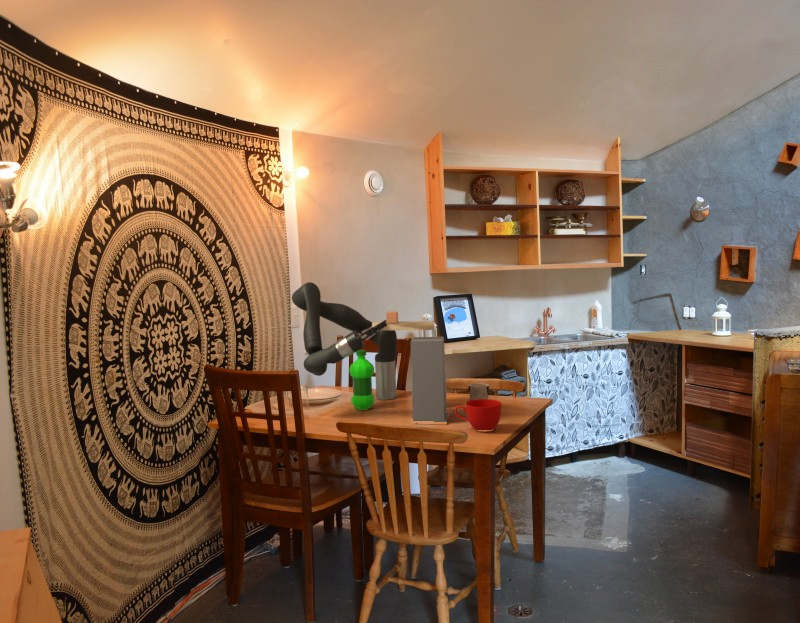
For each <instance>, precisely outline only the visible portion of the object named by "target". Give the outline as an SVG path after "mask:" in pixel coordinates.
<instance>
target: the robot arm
mask: <svg viewBox="0 0 800 623" xmlns="http://www.w3.org/2000/svg"><path fill="white" fill-rule="evenodd" d="M321 298H322V296H321V291H320V288H319V287H318V285H317V284H315V283H314V282H310V281H309V282H306V283H303V284H302V285H301V286H300V287H298V288H297V289H296V290H295V291H294V292H293V294H292V295H291V300H292V302H293V304H294V305H295V306H296V307H297V308H298V309H300V310H302V311H304V312H306V316H305V321H304V325H303V333H302V335H303V343H304V344H303V345H304V350H305V351H306V353H307V354H308V356H306V358H304V362H303V369H305V371H306V372H308V373H310V374H313V375H314V376H318V377H320V376H323V375H324V374H326V372H327V369H328V365H329V364H332V365H334V364H337V363H339V362H340V361H342V360H344V359H345V358H347V357H350V356H351V355H354V354H356V352H357V351H358V350H363V348H364V347H365V346H366V345H365V342H364V341H368V340H369V341H371V342H372V343H374V344H376V345H378V352H377V353H376V354H375V355H374V374H375V398H376V399H377V400H379V401H380V400H382V401H384V400H385V401H387V400H394V399H396V398H397V378H396V376H397V375H396V374H397V373H396V356H397V353H398V352H397V349H398V346H397V345H398V339H397V337H398V336H397V332H396V331H397V330H381V329H382V328H384V327H386V326H387V324H386V322H387V320H386V319H384V320H382V321H380V322H381V323H380V324H378V325H376V326H377V327H376V326H374V327H372V323H373V322H374V321H371V320H369V319H367V318H365V316H363V315H362V314H361V313H360V312H359V311H357V310H356V309H353V308H352V307H350V306H349V305H347V304H343V303H336V302H325V301H322V300H321ZM321 318H323V319H325V320H327V321H329V322H332V323H334V324H335V325H338V326H340V327H341V328H344V329H345V330H348V331H349V332H350V331H351V332H350V333H347V335H345V336H344V337H342V338H340V339H339V340H338V341H336V342H335V343H333V344H331V345H330V346H328V347H327V348H324V349H323V342H322V341H323V340H322V333H321V323H320V322H321ZM379 330H381V331H379Z"/></svg>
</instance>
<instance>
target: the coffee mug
mask: <svg viewBox="0 0 800 623" xmlns="http://www.w3.org/2000/svg"><path fill="white" fill-rule="evenodd" d="M474 384H482V385H485V386H486V388H487V395H488V396H489V393H490V392H489V391H490V384H488V383H483V382H473V383H469V384H468V385H467V386H468V388H467V391H468V393H469V395H470V388H471V386H472V385H474Z"/></svg>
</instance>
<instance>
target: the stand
mask: <svg viewBox="0 0 800 623" xmlns="http://www.w3.org/2000/svg"><path fill="white" fill-rule="evenodd" d="M410 357H411V358H410V366H411V368H410V369H412V374H411V402H412V401H413V406H412V417H411V419H412V418H413V421H434V422H447V423H448V421H447V419H448V420H449V416H448V414H449V412H447V404H446V400H447V394H446V395H445V358H446V357H445V336H413V338H412V339H411V341H410ZM449 415H450V414H449Z"/></svg>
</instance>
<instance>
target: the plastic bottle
mask: <svg viewBox="0 0 800 623" xmlns="http://www.w3.org/2000/svg"><path fill="white" fill-rule="evenodd" d="M355 355H356V357H357V358H356V360H355V361H353V363H351V365H350V366H349V376H351V377H352V392H353V394H352V396H351V404H352V405H353V407H354V408H356V409H357V410H359V411H365V410H367V411H368V410H370V408H371V407H372V406H373V404H374V403H375V396H374V394H373V386H372V385H373V383H372V382H373V381H372V377H373V376H374V374H375V365H374V364H373V363H372V362H370V361H369V360H368V359H367V358H366V355H367V350H366V349H360V350H358V351H357V352H355Z"/></svg>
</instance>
